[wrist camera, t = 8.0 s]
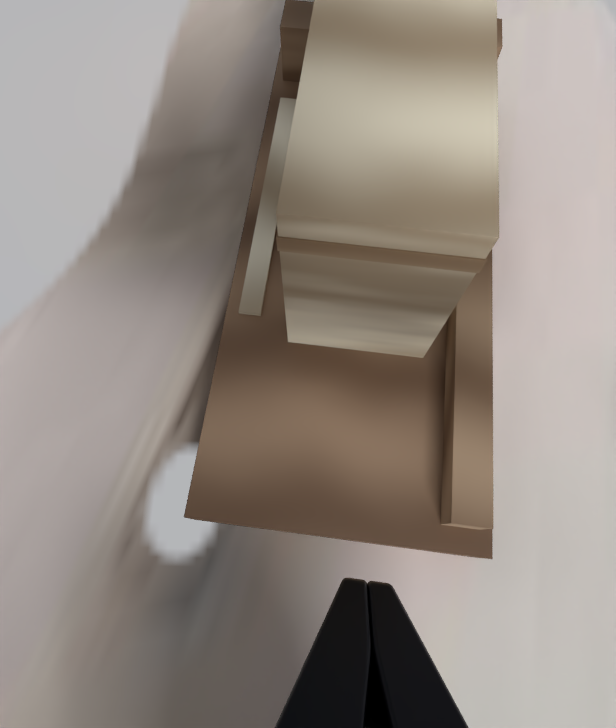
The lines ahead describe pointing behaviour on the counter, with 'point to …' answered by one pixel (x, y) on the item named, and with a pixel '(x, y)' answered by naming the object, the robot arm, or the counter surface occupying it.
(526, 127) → the counter surface
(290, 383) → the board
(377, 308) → the tea box
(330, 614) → the robot arm
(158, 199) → the counter surface
